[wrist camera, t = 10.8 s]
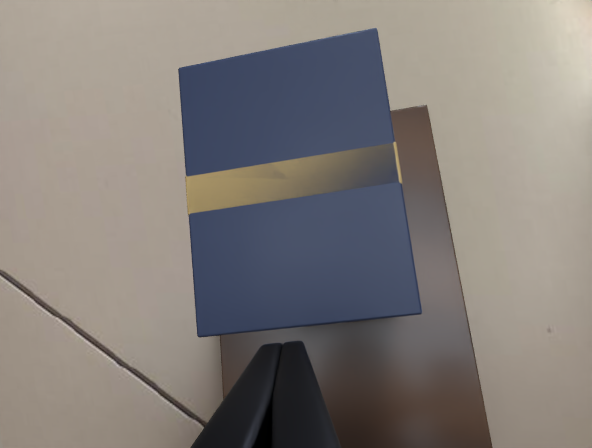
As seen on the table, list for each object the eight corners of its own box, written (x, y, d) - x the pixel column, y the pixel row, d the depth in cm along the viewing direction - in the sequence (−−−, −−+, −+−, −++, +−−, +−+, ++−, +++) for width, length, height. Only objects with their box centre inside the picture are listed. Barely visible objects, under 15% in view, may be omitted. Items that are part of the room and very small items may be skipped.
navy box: (423, 314, 11) (377, 26, 12) (195, 337, 12) (176, 67, 13) (398, 302, 21) (374, 143, 22) (275, 315, 21) (259, 162, 23)
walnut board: (515, 587, 18) (521, 599, 17) (239, 590, 20) (233, 601, 19) (425, 111, 23) (426, 103, 22) (214, 147, 25) (208, 142, 24)
